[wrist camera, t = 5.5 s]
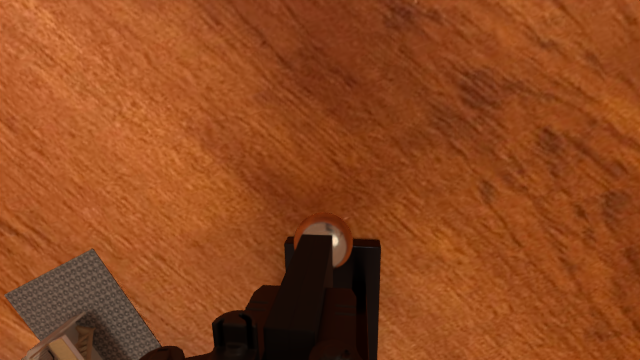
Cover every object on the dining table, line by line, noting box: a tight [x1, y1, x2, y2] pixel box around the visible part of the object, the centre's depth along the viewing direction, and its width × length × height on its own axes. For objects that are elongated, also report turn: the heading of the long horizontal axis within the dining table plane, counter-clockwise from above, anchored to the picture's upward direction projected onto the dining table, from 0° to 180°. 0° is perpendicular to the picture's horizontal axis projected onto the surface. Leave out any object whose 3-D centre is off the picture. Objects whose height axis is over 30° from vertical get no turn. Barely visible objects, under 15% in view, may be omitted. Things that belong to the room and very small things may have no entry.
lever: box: [294, 212, 353, 271], centre depth 16 cm, size 12×3×3 cm
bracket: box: [284, 237, 381, 360], centre depth 19 cm, size 10×7×13 cm
